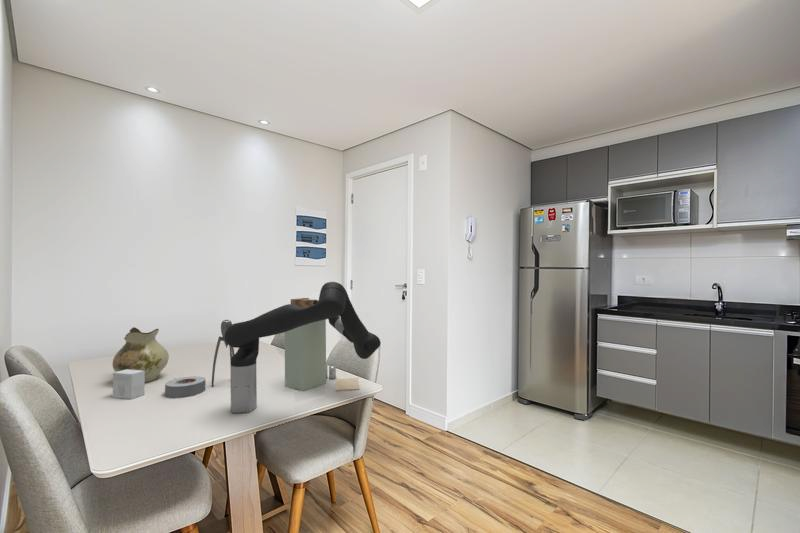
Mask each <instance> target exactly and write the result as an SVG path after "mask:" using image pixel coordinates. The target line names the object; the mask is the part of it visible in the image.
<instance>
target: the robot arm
mask: <svg viewBox="0 0 800 533" xmlns="http://www.w3.org/2000/svg"><path fill="white" fill-rule="evenodd" d="M313 300H314V302H313V304H314V305H312V306H309V307H306V308H303V307H300V306H297V305H293V304H291V303H288V304H284V305H282V306H278V307H277V308H274V309H271V310H269V311H267V312H265V313H263V314H261V315H258V316H257V317H255V318H252V319H248V320H246V321H241V322H235V323H232V325H231V326H229V327H228V328H227V330H226V332H225V336H224V338H225V341H226V343H227V344H228V346H231V347H233V348H237V351H236V353H235V352H234V355H233V356H232V357H231V361H230V360H229V362H230V365H229V366H230V411H231V413H232V414H240V413H250V412H251V411H253V410H255V409H257V407H258V404H257V403H258V398H257V397H258V396H257V395H258V394H257V393H258V392H257V386H258V385H257V358H258V356H259V351H260V348H259V347H260V339H261V338H266V337H270V336H275V335H279V334H282V333H283V334H285V332H286V331H289V330H292V329H295V328H297V327H300V326H303V325H306V324H309V323H313V322H317V321H321V320H326V321H327V320H328V323H329V324H330V325H331V326H332V327H333V328H334V329H335V330H336V331H337V332H338V333H339V334H341V335H342V336H343V337H345V338H346V339H347V341H348V342H350V343H353V347H354V351H355V353H356V355H357V356H358V357H359V358H360V359H362V360H367V359H369V358H370V357H371V356H372V355H373V354H374V353H375V352H376V351H378V349H379V348H380V347H381V339H380V338H379V336H378V335H377V334H374V333H372V332H370V331H369V330H368V329H367V327H366V326H365V324H363V322H362V320H361V319H360V318H359V315H358V314H357V312H356V310H355V307H354V306H353V304H352V301H351V299H350V297H349V294H348V292H347V290H346V288H345V287H344V285H343V284H341V283H339V282H336V281H329V282H328V281H327V282H325V283H324V284H323V285H322V287H321V288H320V292H319V297H318V299H313ZM317 300H319V301H317Z"/></svg>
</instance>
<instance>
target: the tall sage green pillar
mask: <svg viewBox="0 0 800 533" xmlns="http://www.w3.org/2000/svg"><path fill="white" fill-rule="evenodd" d="M326 322H327V319H326V320H321V321H317V322H313V323H309V324H306V325H303V326H300V327H297V328H295V329H292V330H289V331H286V332H284V387H285V388H286V387H287V388H290V389H294V390H297V391H300V392H304V391H307V390H310V389H313V388H315V387H319V386H322V385H324V384H327V379H326V365H327V328H326V327H327V323H326Z"/></svg>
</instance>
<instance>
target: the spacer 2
mask: <svg viewBox="0 0 800 533" xmlns="http://www.w3.org/2000/svg"><path fill="white" fill-rule="evenodd" d="M328 379H329V380H331V381H333V380H334V381H335V380H337V366H336V365H329V366H328Z"/></svg>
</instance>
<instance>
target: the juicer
mask: <svg viewBox="0 0 800 533" xmlns="http://www.w3.org/2000/svg"><path fill="white" fill-rule="evenodd" d="M220 324H221V325H220V332H221V336H219V337H218V339H217V344H216V346H215V351H214V356H213V364H212V372H211V387H212V388H213V387H214V383H215V382H214V381H215V374H216V373H215V372H216V365H217V364H216V363H217V359H218V358H217V357H218V353H219V349H220V345H221V341H222V342H223V343H224V344H225V348H228V346H229V345H228V344H227V343H226V341H225V338H224V336H225V332H226V330H227V328H228V327H229V326H231V325H232V324H233V323H232V321H231V320H230V319H224V320H222V321H221V323H220ZM234 348H235V347H231V346H229V358H230V360H229V362H230V361H231V357H232V356H233V355H234V354H235V349H234Z"/></svg>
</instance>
